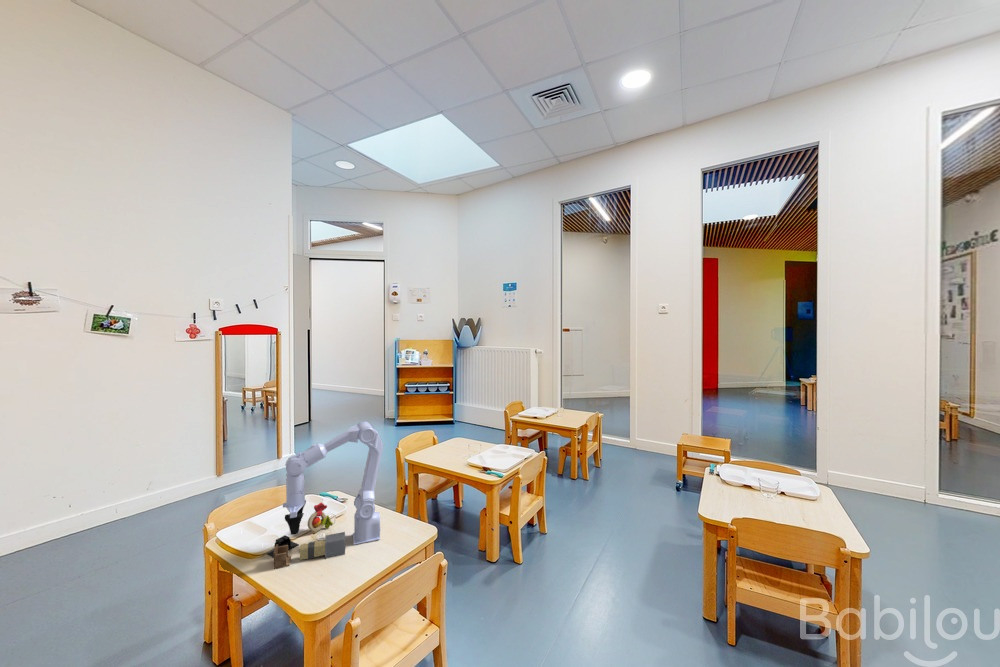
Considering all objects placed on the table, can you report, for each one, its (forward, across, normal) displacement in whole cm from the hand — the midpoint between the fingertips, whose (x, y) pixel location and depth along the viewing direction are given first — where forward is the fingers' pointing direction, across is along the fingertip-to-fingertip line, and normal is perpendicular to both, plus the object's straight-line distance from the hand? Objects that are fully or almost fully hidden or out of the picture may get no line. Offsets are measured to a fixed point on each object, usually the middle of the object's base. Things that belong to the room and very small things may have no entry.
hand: (296, 528), depth 135 cm
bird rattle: (+10, -15, +7) cm, 19 cm away
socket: (+10, +3, -4) cm, 11 cm away
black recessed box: (+11, -6, -5) cm, 13 cm away
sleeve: (+10, +3, +13) cm, 16 cm away
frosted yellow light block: (+10, +3, +8) cm, 13 cm away
